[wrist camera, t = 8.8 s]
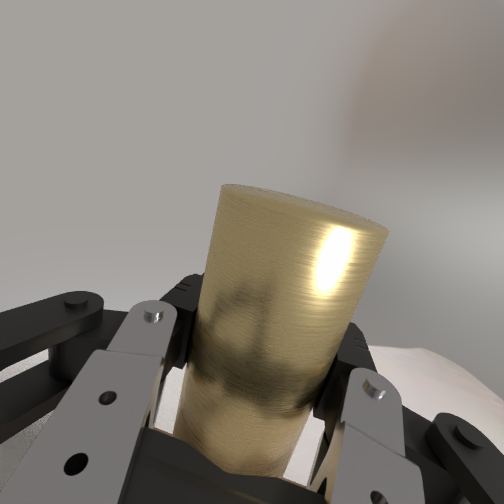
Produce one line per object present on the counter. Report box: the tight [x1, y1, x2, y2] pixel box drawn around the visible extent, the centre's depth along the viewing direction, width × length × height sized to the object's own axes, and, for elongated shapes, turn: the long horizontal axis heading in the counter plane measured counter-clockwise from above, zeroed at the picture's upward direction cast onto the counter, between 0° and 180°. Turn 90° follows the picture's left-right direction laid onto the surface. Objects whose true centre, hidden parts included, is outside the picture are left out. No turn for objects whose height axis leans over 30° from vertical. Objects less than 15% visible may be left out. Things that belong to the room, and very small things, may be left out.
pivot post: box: [172, 184, 389, 479], centre depth 9 cm, size 4×4×12 cm
